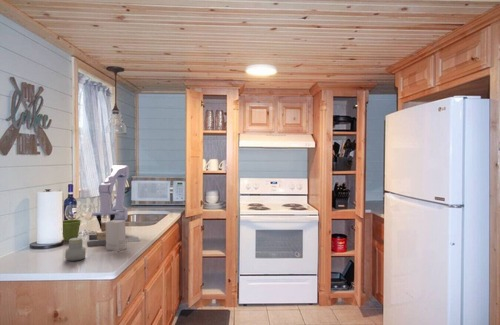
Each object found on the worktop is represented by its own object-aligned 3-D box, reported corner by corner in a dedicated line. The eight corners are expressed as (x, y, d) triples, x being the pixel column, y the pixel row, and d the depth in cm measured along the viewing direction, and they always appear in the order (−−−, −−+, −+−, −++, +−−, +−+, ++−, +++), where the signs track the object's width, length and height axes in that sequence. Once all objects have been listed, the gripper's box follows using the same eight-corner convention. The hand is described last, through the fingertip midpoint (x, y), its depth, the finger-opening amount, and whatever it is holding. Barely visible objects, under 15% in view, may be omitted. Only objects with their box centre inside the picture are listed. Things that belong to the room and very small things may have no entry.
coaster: (118, 239, 222) (118, 238, 222) (137, 237, 226) (137, 236, 226) (120, 243, 212) (120, 242, 212) (140, 241, 216) (140, 240, 216)
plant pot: (74, 237, 225) (74, 218, 225) (85, 240, 218) (85, 221, 218) (55, 240, 215) (55, 221, 215) (65, 243, 209) (66, 223, 208)
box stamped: (101, 230, 211) (101, 221, 211) (109, 229, 213) (109, 220, 213) (101, 231, 207) (101, 222, 207) (109, 231, 209) (110, 222, 209)
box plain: (96, 239, 217) (96, 231, 217) (104, 238, 219) (104, 230, 219) (97, 241, 213) (97, 232, 213) (106, 240, 216) (106, 231, 215)
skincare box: (126, 249, 199) (126, 220, 198) (117, 252, 192) (118, 222, 192) (113, 247, 201) (113, 219, 201) (104, 250, 195) (105, 221, 195)
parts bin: (87, 240, 218) (87, 234, 218) (113, 238, 223) (113, 233, 223) (87, 247, 202) (87, 241, 202) (115, 244, 207) (115, 239, 207)
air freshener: (84, 261, 175) (84, 240, 174) (64, 263, 172) (64, 242, 171) (85, 255, 185) (85, 236, 185) (67, 257, 182) (67, 237, 182)
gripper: (91, 205, 203) (91, 230, 204) (119, 204, 209) (119, 228, 209) (91, 204, 210) (91, 227, 210) (118, 203, 215) (118, 226, 216)
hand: (105, 228), depth 210 cm, fingers closed on box stamped, 4 cm apart
